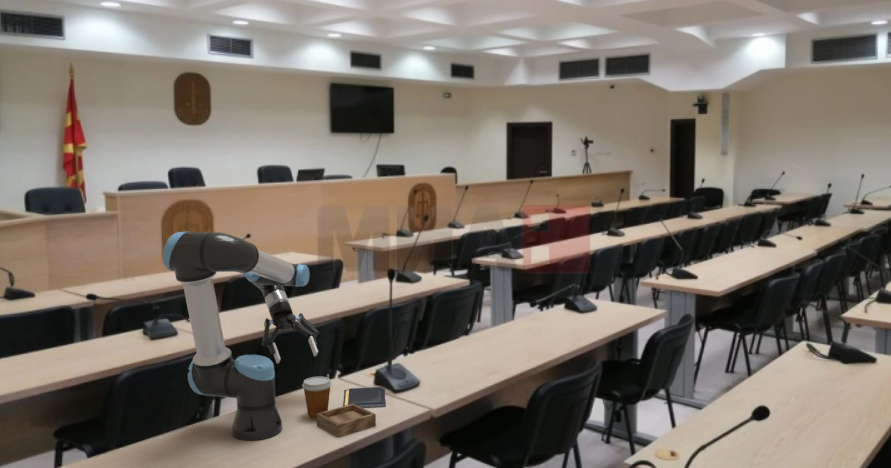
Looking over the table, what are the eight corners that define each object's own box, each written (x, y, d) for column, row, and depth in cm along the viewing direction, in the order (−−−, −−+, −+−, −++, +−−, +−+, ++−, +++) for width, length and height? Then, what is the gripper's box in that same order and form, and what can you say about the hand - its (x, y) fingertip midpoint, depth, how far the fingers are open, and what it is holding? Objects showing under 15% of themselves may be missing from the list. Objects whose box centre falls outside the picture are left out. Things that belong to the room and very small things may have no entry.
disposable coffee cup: (326, 421, 233) (325, 386, 232) (298, 420, 235) (297, 384, 234) (336, 411, 242) (335, 376, 241) (309, 409, 244) (308, 375, 243)
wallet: (385, 403, 246) (340, 405, 244) (385, 409, 246) (340, 410, 245) (386, 384, 265) (344, 386, 264) (386, 389, 266) (344, 391, 265)
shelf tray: (337, 437, 221) (337, 425, 220) (316, 425, 230) (316, 413, 230) (375, 425, 230) (375, 414, 229) (353, 414, 239) (353, 403, 239)
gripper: (308, 307, 264) (328, 356, 254) (242, 317, 250) (259, 370, 240) (314, 295, 259) (334, 345, 249) (246, 305, 245) (265, 358, 235)
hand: (297, 357), depth 244 cm, fingers open, 13 cm apart
